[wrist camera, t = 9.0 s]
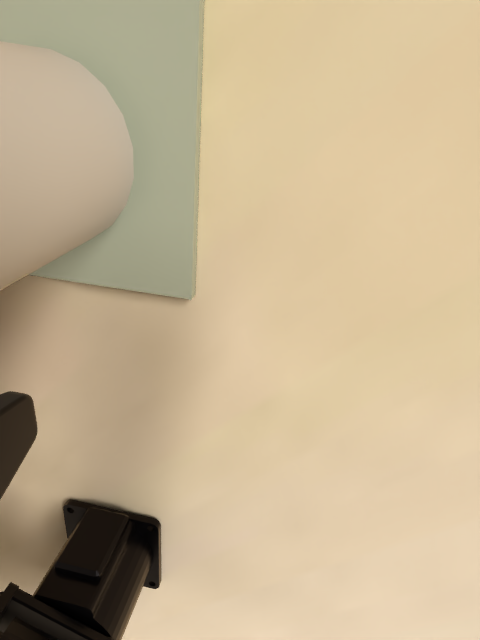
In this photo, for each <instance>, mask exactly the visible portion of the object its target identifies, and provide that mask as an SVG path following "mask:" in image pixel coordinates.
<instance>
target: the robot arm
mask: <svg viewBox="0 0 480 640" xmlns="http://www.w3.org/2000/svg"><path fill="white" fill-rule="evenodd" d="M36 435H37V422H36V415H35V409H34V403H33V399H32V398H31V396H29V395H28V394H23V393H18V392H11V391H10V392H6V393H3V394H1V395H0V499H1V498H2V496H3V494H4V493H5V491H6V489H7V487H8V486H9V484H10V482H11V481H12V479H13V477H14V475H15V474H16V472H17V470H18V468H19V467H20V465H21V463H22V462H23V460H24V458H25V456H26V455H27V453H28V451H29V449H30V448H31V446H32V444H33V442H34V441H35V438H36ZM63 510H64V517H65V524H66V531H67V538H68V540H67V541H66V543H65V544H64V546H63V548H62V549H61V551H60V552H59V554H58V556H57V557H56V559H55V560H54V562H53V564H52V565H51V567H50V568H49V570H48V572H47V573H46V575H45V577H44V578H43V580H42V581H41V583H40V585H39V586H38V588H37V589H36V591H35V593H34V594H33V596H32V595H30V594H28V593H26V592H24V591H23V590H21V589H19V586H17V585H16V584H14V583H12V582H11V583H10V584H9V585H8V587H7V588H6V589H5V591H4V592H3V591H2V592H0V640H121V639H122V636H123V634H124V631H125V629H126V627H127V624H128V622H129V619H130V617H131V614H132V612H133V609H134V607H135V605H136V602H137V600H138V597H139V595H140V592H141V590H142V587H143V586H144V587H148V588H153V589H157V588H158V587H159V585H160V582H161V524H160V522H159V521H158V520H156V519H154V518H150V517H145V516H141V515H137V514H132V513H128V512H123V511H119V510H115V509H110V508H106V507H101V506H97V505H92V504H88V503H84V502H79V501H75V500H68V501H67V502H66V504H65V505H64V507H63Z"/></svg>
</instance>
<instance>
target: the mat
mask: <svg viewBox="0 0 480 640" xmlns="http://www.w3.org/2000/svg"><path fill="white" fill-rule="evenodd" d="M203 26H204V0H0V41H2V42H9V43H15V44H21V45H28V46H34V47H41V48H47V49H52V50H54V51H56V52H58V53H60V54H62V55H64V56H67V57H69V58H71V59H73V60H75V61H77V62H79V63H81V64H82V65H83V66H84V67H85V68H86V69H87V70H88V71H89V72H90V73H91V74H93V75H94V76H95V77H96V78H97V79H98V80H99V81H100V82H101V83H102V84H103V85H105V87H106V89H107V90H108V92H109V93H110V95H111V97H112V98H113V100H114V101H115V103H116V105H117V106H118V108H119V109H120V111H121V113H122V114H123V116H124V120H125V123H126V126H127V129H128V133H129V136H130V139H131V142H132V146H133V165H134V180H133V183H132V187H131V190H130V194H129V198H128V201H127V205H126V206H125V208H124V209H123V211H122V212H121V213H120V215H119V216H118V218H117V219H116V220H115V222H114V223H113V225H112V226H110V227H109V228H107V229H106V230H104V231H103V232H101V233H100V234H98V235H97V236H95V237H93V238H92V239H90V240H88V241H87V242H85V243H83V244H81V245H80V246H78V247H76V248H74V249H73V250H71V251H69V252H67V253H66V254H64V255H62V256H60V257H59V258H57V259H55V260H53V261H52V262H50V263H48V264H46V265H45V266H43V267H41V268H39V269H38V270H36V271H34V272H32V273H31V274H29V275H32V276H39V277H45V278H52V279H58V280H65V281H71V282H78V283H85V284H91V285H98V286H104V287H111V288H118V289H124V290H131V291H137V292H144V293H150V294H157V295H164V296H170V297H177V298H183V299H190V300H192V299H193V297H194V296H195V288H196V255H197V222H198V190H199V157H200V124H201V91H202V59H203Z"/></svg>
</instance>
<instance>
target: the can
mask: <svg viewBox="0 0 480 640" xmlns="http://www.w3.org/2000/svg"><path fill="white" fill-rule="evenodd" d="M133 180H134V165H133V146H132V142H131V139H130V136H129V133H128V129H127V126H126V123H125V120H124V116H123V114H122V113H121V111H120V109H119V108H118V106H117V105H116V103H115V101H114V100H113V98H112V97H111V95H110V93H109V92H108V90H107V89H106V87H105V85H103V84H102V83H101V82H100V81H99V80H98V79H97V78H96V77H95V76H94V75H93V74H91V73H90V72H89V71H88V70H87V69H86V68H85V67H84V66H83V65H82V64H81V63H79V62H77V61H75V60H73V59H71V58H69V57H67V56H64V55H62V54H60V53H58V52H56V51H54V50H52V49H47V48H41V47H34V46H28V45H21V44H15V43H9V42H2V41H0V291H1V290H2V289H4V288H6V287H8V286H9V285H11V284H13V283H15V282H16V281H18V280H20V279H22V278H24V277H25V276H27V275H29V274H31V273H32V272H34V271H36V270H38V269H39V268H41V267H43V266H45V265H46V264H48V263H50V262H52V261H53V260H55V259H57V258H59V257H60V256H62V255H64V254H66V253H67V252H69V251H71V250H73V249H74V248H76V247H78V246H80V245H81V244H83V243H85V242H87V241H88V240H90V239H92V238H93V237H95V236H97V235H98V234H100V233H101V232H103V231H104V230H106V229H107V228H109V227H110V226H112V225H113V223H114V222H115V220H116V219H117V218H118V216H119V215H120V213H121V212H122V211H123V209H124V208H125V206H126V205H127V201H128V198H129V194H130V190H131V187H132V183H133Z"/></svg>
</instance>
